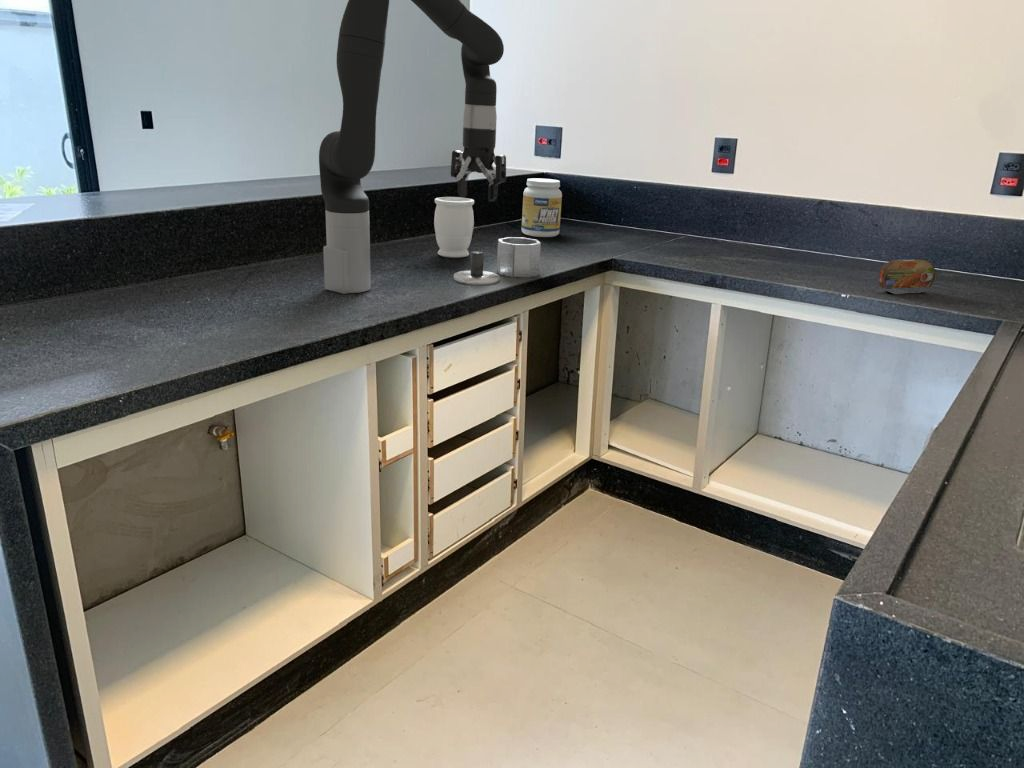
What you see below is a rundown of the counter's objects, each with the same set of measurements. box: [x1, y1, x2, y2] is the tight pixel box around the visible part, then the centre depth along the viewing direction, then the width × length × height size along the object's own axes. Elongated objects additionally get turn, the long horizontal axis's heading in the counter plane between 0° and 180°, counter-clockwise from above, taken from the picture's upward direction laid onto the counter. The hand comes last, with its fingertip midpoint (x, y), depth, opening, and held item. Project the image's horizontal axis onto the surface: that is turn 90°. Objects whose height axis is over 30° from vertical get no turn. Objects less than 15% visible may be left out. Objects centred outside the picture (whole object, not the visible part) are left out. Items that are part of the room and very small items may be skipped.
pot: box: [496, 236, 542, 279], centre depth 197 cm, size 10×10×8 cm
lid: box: [453, 251, 501, 286], centre depth 189 cm, size 11×11×7 cm
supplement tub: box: [521, 177, 563, 238], centre depth 249 cm, size 12×12×17 cm
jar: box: [433, 196, 475, 259], centre depth 213 cm, size 11×10×15 cm
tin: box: [878, 259, 936, 289], centre depth 196 cm, size 15×3×8 cm, turn 105°
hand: (477, 199), depth 185 cm, fingers open, 8 cm apart
